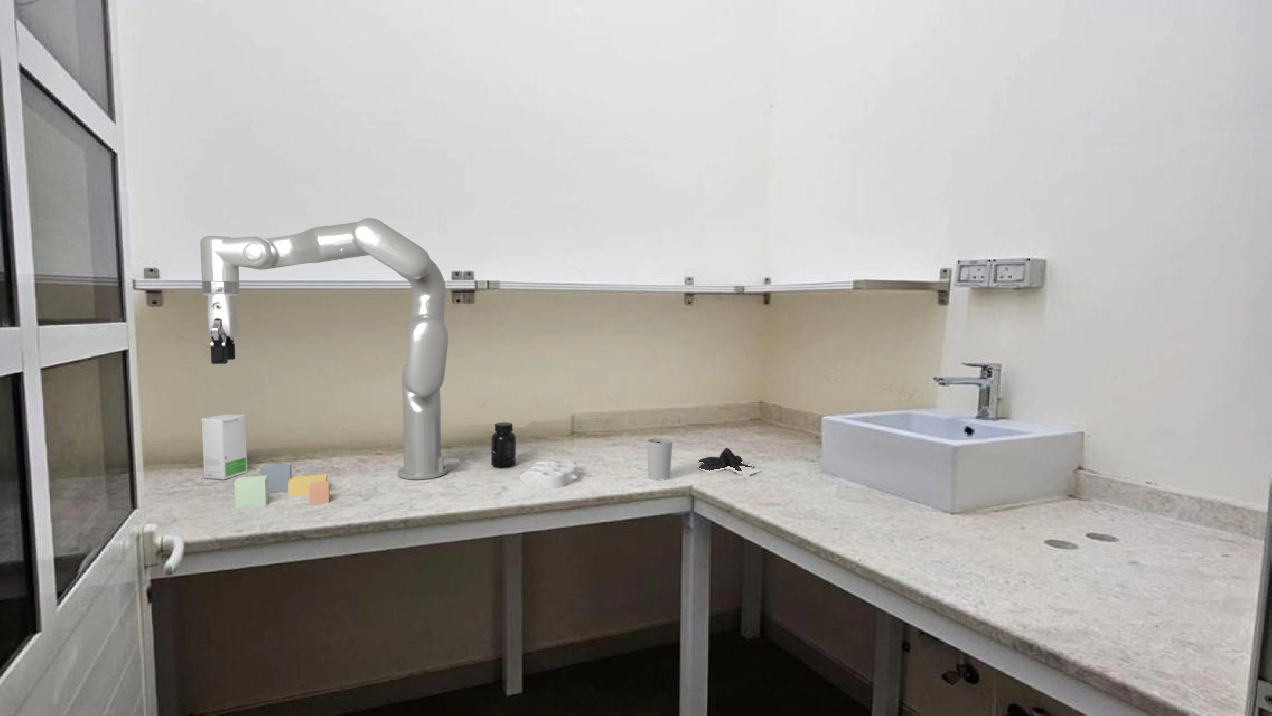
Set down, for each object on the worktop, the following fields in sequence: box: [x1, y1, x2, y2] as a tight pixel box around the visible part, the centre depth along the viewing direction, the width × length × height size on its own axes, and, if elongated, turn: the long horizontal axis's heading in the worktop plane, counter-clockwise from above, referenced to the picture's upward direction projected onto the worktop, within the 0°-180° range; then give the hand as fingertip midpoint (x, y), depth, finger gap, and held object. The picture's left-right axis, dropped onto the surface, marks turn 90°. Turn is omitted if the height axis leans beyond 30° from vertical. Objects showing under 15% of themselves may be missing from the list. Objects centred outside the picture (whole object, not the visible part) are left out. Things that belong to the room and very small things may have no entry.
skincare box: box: [201, 414, 248, 480], centre depth 175 cm, size 8×7×16 cm
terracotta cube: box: [308, 481, 331, 505], centre depth 155 cm, size 4×4×4 cm
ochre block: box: [287, 473, 328, 497], centre depth 163 cm, size 8×6×4 cm
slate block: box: [260, 463, 293, 495], centre depth 163 cm, size 6×4×6 cm, turn 112°
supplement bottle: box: [490, 421, 517, 469], centre depth 190 cm, size 7×7×12 cm
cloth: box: [698, 447, 755, 471], centre depth 194 cm, size 22×19×6 cm
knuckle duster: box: [519, 458, 583, 489], centre depth 178 cm, size 3×18×15 cm
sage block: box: [233, 475, 269, 509], centre depth 152 cm, size 6×4×6 cm, turn 112°
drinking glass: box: [647, 437, 673, 480], centre depth 180 cm, size 7×7×10 cm
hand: (223, 361), depth 160 cm, fingers open, 9 cm apart
